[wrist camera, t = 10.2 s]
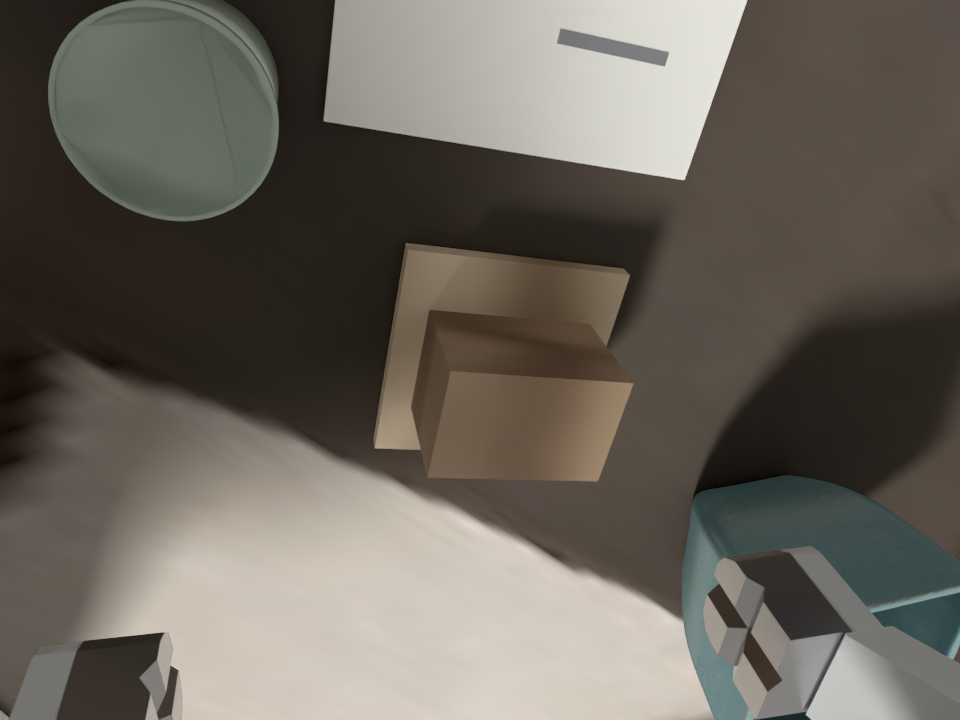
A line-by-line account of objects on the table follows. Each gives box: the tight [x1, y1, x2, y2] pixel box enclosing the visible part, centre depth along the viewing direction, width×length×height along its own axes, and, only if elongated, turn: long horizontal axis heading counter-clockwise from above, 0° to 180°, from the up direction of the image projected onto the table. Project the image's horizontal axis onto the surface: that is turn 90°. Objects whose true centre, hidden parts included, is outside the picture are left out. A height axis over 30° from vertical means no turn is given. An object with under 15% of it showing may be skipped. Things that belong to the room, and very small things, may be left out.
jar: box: [48, 0, 279, 221], centre depth 17 cm, size 5×5×5 cm
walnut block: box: [411, 310, 634, 481], centre depth 24 cm, size 6×4×4 cm, turn 78°
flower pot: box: [682, 475, 960, 720], centre depth 30 cm, size 9×9×9 cm
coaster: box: [373, 243, 630, 450], centre depth 26 cm, size 8×8×1 cm
